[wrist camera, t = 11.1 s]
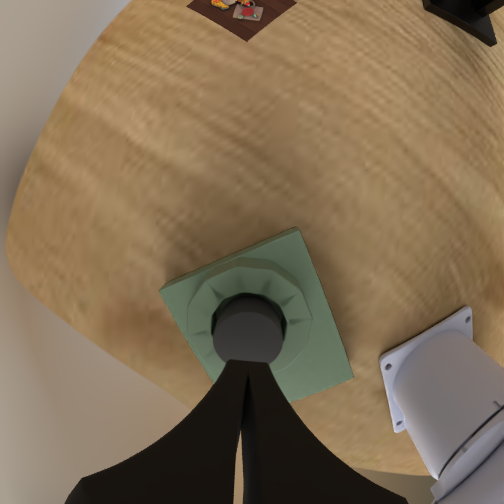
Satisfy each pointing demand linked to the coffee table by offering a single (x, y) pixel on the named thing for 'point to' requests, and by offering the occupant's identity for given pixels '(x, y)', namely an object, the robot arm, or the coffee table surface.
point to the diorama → (242, 13)
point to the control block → (280, 297)
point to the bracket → (468, 15)
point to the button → (248, 331)
